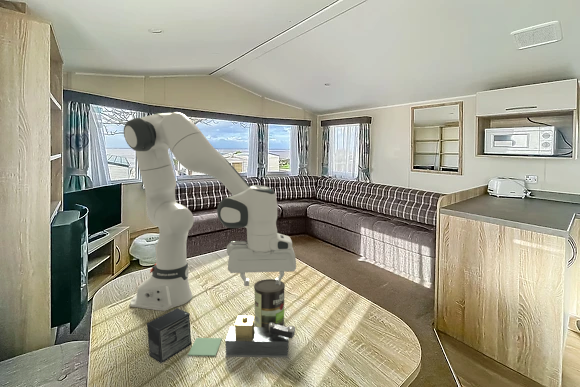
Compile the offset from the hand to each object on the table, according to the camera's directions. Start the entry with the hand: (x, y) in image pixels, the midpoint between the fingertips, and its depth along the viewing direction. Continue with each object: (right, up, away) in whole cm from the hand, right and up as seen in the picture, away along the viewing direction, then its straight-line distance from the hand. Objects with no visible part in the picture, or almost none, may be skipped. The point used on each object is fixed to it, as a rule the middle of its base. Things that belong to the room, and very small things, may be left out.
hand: (262, 284), depth 95 cm
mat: (-17, -19, 0) cm, 25 cm away
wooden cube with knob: (-5, -14, -1) cm, 15 cm away
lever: (+6, -14, -3) cm, 16 cm away
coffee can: (+1, -17, +13) cm, 22 cm away
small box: (-27, -19, -1) cm, 33 cm away
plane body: (-1, -19, -1) cm, 19 cm away
